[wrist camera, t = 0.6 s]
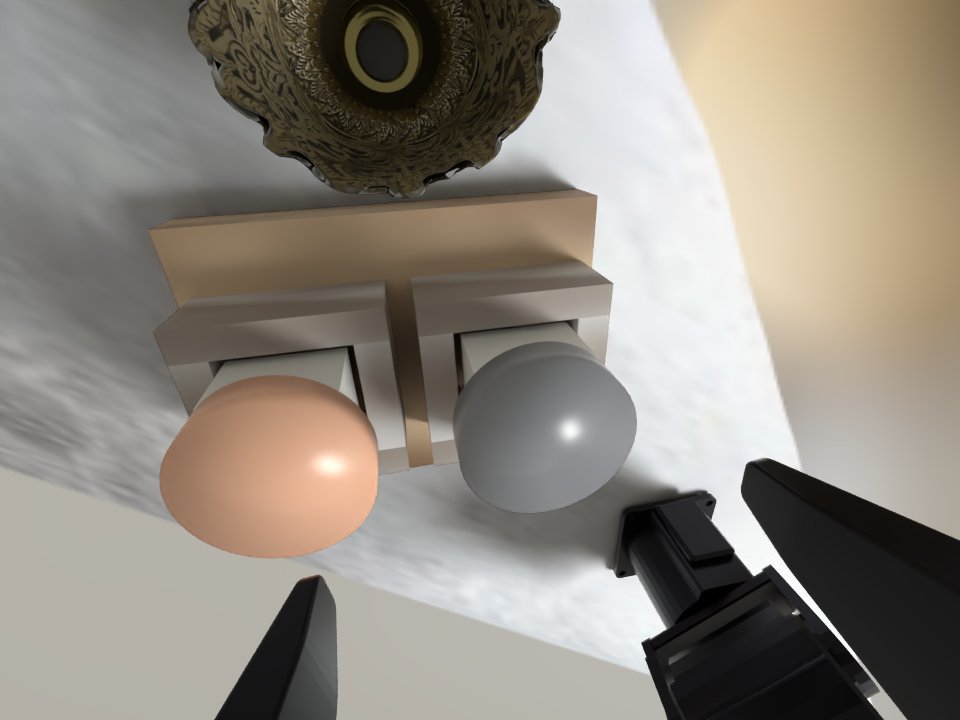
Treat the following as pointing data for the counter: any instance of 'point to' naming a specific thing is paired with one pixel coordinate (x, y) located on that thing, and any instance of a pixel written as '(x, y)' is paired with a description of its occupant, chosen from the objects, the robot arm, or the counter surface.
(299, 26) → the cup
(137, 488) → the counter surface
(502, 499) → the plunger grey
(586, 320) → the button board
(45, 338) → the counter surface
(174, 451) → the plunger terracotta
